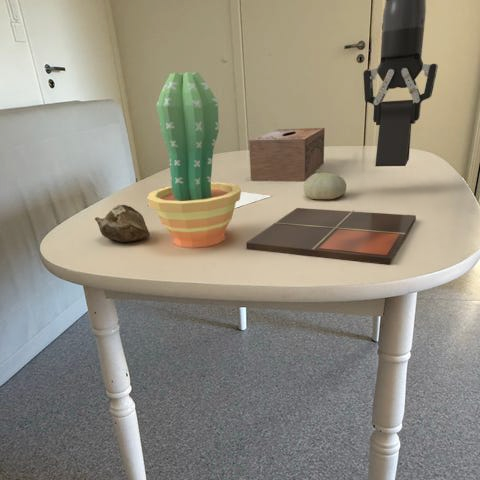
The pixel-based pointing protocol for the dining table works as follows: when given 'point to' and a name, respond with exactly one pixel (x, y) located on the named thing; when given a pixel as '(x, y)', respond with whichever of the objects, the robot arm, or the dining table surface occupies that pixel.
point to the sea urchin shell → (324, 186)
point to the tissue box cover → (287, 154)
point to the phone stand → (394, 133)
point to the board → (336, 235)
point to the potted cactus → (192, 165)
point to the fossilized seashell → (123, 224)
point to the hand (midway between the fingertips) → (395, 123)
